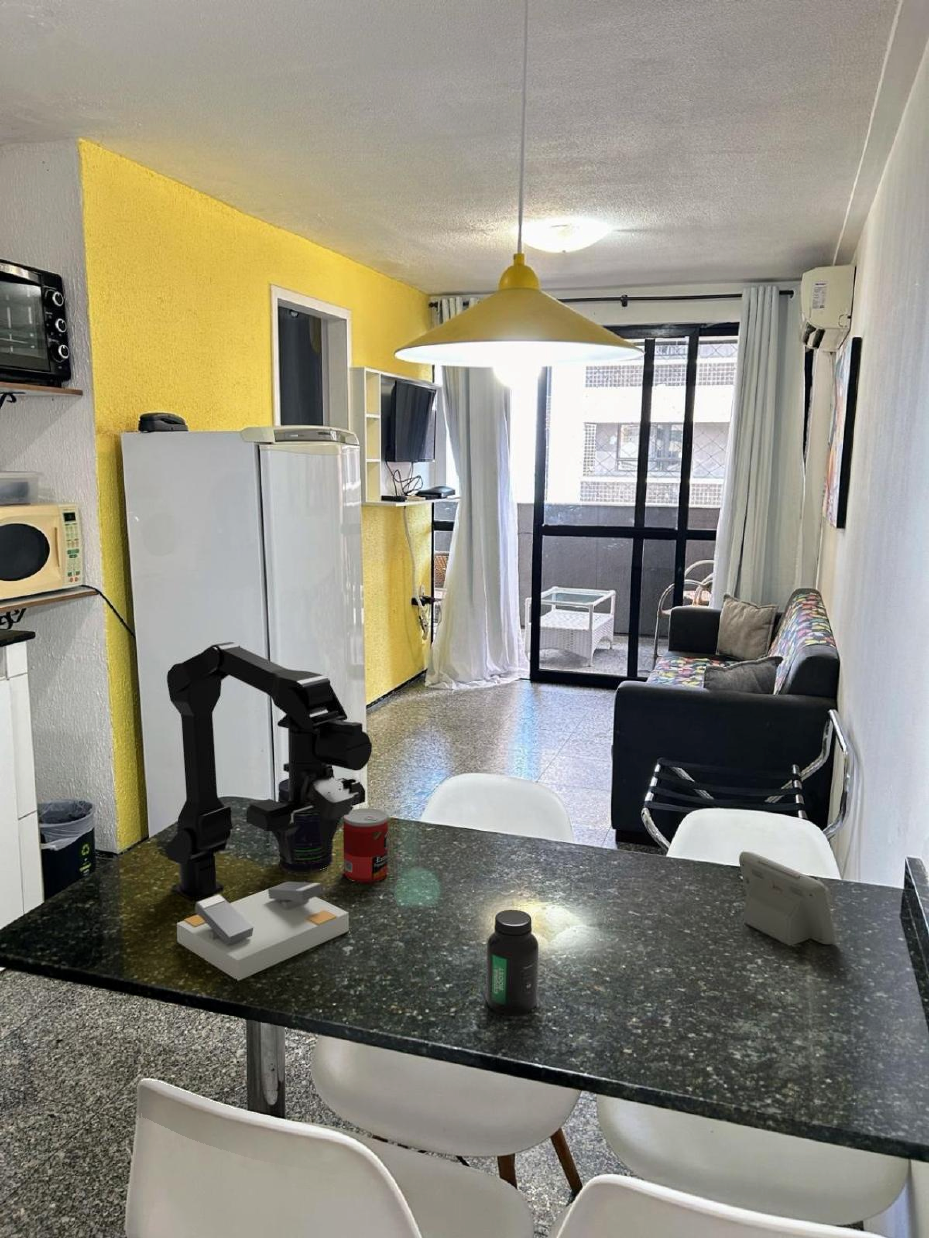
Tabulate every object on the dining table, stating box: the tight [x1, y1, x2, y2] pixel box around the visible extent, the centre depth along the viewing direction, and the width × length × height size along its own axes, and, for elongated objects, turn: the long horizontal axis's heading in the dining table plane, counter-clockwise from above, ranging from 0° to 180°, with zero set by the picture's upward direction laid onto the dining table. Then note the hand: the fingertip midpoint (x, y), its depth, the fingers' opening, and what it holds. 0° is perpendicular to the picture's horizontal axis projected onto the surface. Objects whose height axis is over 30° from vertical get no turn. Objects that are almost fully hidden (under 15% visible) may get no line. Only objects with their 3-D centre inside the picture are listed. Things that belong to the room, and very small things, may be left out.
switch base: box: [176, 881, 350, 981], centre depth 137 cm, size 16×20×4 cm
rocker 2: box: [267, 881, 325, 901], centre depth 141 cm, size 9×4×2 cm, turn 48°
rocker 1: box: [194, 893, 253, 946], centre depth 131 cm, size 9×4×2 cm, turn 47°
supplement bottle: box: [485, 909, 540, 1016], centre depth 119 cm, size 7×7×12 cm
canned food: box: [342, 807, 389, 884], centre depth 159 cm, size 8×8×11 cm
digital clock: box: [738, 851, 836, 947], centre depth 141 cm, size 16×9×11 cm, turn 20°
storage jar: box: [277, 777, 334, 874], centre depth 164 cm, size 10×10×15 cm
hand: (308, 856), depth 137 cm, fingers open, 6 cm apart
